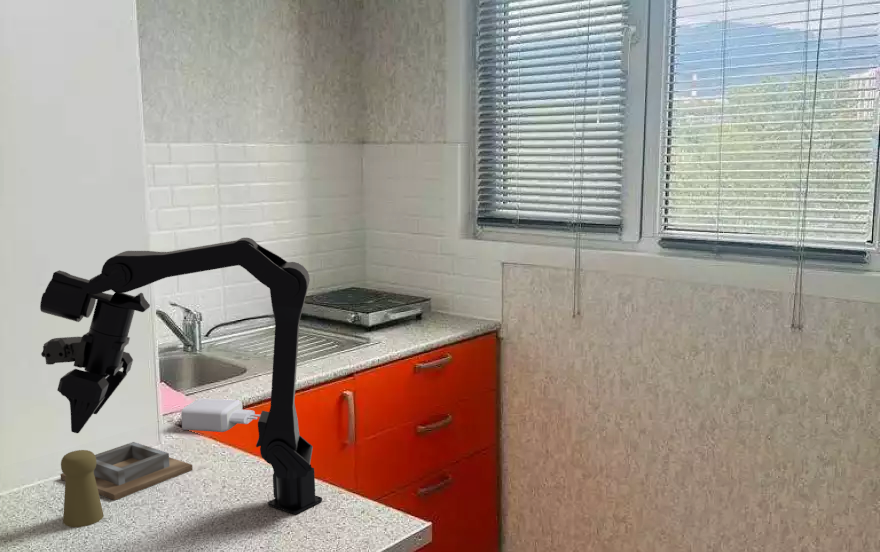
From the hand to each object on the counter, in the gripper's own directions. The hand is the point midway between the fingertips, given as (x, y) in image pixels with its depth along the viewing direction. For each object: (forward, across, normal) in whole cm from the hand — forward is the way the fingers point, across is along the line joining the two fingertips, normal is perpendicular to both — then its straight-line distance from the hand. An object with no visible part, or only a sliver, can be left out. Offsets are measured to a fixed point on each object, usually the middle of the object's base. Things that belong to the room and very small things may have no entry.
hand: (84, 422), depth 138 cm
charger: (+10, -41, +19) cm, 47 cm away
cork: (+15, +2, +4) cm, 16 cm away
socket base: (+14, -16, +6) cm, 22 cm away
